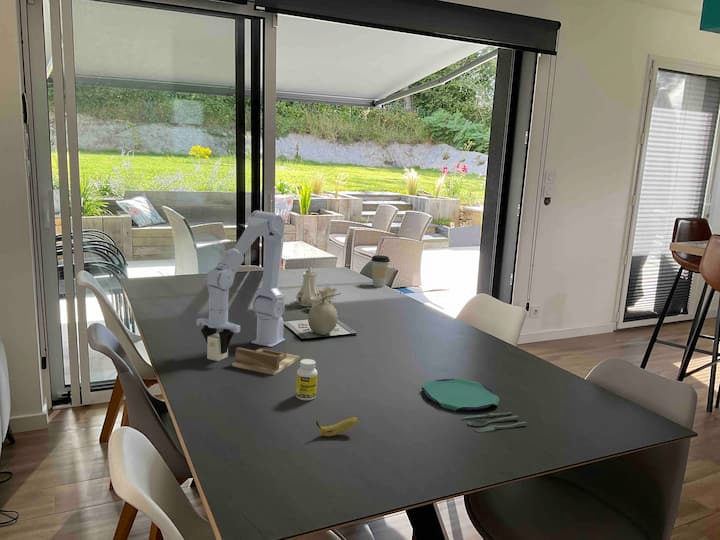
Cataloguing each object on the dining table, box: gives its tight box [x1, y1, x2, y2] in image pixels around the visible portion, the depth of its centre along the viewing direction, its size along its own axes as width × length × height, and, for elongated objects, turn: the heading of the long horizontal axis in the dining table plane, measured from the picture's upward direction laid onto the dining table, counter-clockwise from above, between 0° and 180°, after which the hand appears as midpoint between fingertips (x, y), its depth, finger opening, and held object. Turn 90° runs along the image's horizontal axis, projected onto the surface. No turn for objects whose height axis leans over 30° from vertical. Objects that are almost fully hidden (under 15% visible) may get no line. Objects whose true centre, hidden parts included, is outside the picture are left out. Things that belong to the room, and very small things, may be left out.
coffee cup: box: [371, 254, 391, 288], centre depth 297 cm, size 9×9×15 cm
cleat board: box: [231, 347, 301, 376], centre depth 178 cm, size 16×14×5 cm
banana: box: [315, 416, 359, 437], centre depth 134 cm, size 10×2×4 cm, turn 109°
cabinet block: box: [206, 332, 229, 362], centre depth 179 cm, size 6×4×7 cm
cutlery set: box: [421, 378, 528, 433], centre depth 156 cm, size 20×30×2 cm, turn 20°
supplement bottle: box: [295, 358, 318, 401], centre depth 154 cm, size 5×5×10 cm
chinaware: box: [295, 266, 338, 308], centre depth 251 cm, size 28×17×17 cm, turn 179°
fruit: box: [307, 292, 342, 336], centre depth 209 cm, size 10×12×15 cm
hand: (217, 351), depth 180 cm, fingers closed on cabinet block, 4 cm apart
